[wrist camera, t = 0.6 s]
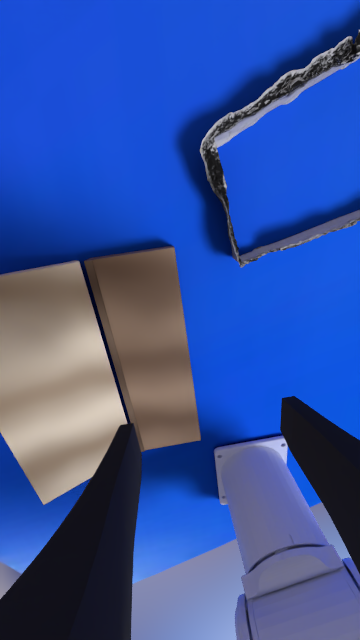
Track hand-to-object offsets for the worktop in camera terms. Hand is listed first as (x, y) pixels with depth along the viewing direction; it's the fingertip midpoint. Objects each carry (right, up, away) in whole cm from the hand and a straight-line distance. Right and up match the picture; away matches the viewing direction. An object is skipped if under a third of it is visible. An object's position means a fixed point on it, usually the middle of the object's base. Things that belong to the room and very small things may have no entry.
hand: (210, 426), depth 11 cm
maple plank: (-11, 0, +7) cm, 13 cm away
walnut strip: (-4, +2, +9) cm, 10 cm away
